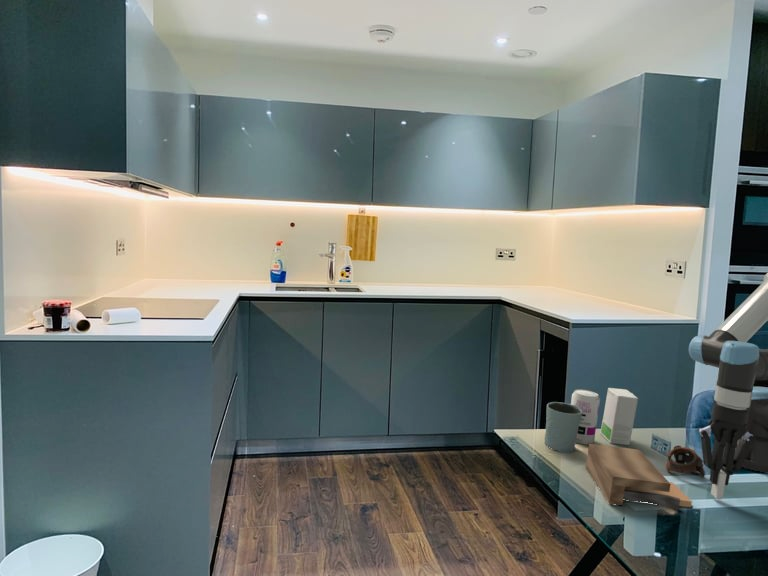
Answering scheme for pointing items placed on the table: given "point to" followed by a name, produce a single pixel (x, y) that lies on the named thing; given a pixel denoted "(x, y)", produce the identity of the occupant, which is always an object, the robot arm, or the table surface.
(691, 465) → the broken clay pot
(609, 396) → the skincare box
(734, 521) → the table surface
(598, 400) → the supplement can
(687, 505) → the terracotta panel
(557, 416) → the grey cylindrical pot
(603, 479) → the walnut shelf
